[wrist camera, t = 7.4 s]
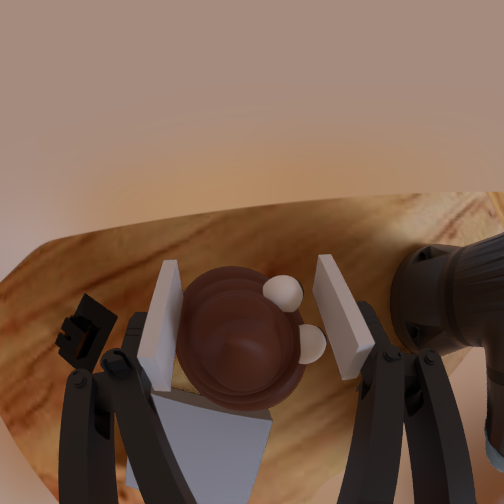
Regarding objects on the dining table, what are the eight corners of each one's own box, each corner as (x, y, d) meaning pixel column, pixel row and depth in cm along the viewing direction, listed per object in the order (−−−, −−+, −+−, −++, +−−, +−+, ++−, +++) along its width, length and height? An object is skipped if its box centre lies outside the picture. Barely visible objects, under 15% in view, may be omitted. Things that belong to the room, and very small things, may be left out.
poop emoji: (158, 297, 19) (97, 283, 10) (266, 248, 20) (291, 196, 11) (218, 420, 17) (208, 493, 8) (325, 370, 18) (390, 408, 9)
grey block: (267, 408, 28) (272, 420, 24) (242, 495, 24) (243, 512, 21) (146, 379, 27) (135, 388, 23) (135, 470, 24) (125, 485, 20)
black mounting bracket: (88, 278, 30) (69, 272, 25) (133, 310, 30) (118, 308, 25) (52, 358, 27) (32, 361, 22) (93, 392, 27) (76, 401, 22)
